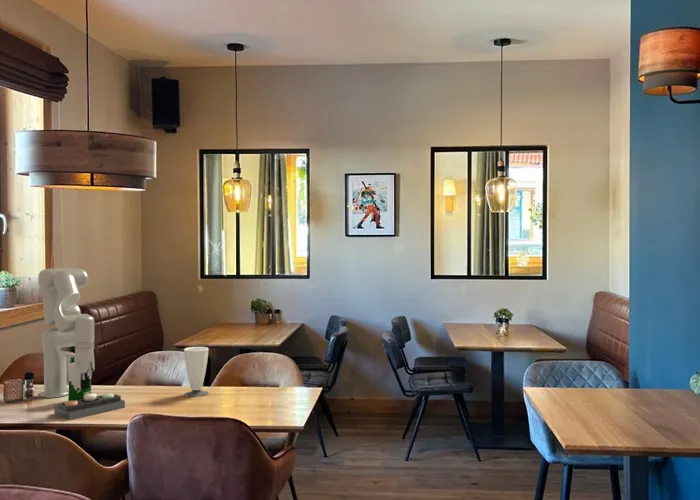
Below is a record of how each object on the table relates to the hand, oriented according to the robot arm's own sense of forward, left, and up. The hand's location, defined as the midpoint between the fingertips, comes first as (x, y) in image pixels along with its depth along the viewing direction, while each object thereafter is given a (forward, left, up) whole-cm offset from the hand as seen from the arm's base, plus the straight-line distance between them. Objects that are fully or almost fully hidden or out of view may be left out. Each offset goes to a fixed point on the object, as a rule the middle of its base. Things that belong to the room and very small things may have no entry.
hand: (85, 388), depth 251 cm
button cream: (0, +2, -5) cm, 6 cm away
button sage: (0, +10, -7) cm, 12 cm away
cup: (+11, +48, -10) cm, 50 cm away
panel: (0, +2, -10) cm, 10 cm away
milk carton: (-18, +6, -10) cm, 22 cm away
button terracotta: (0, -6, -7) cm, 9 cm away
